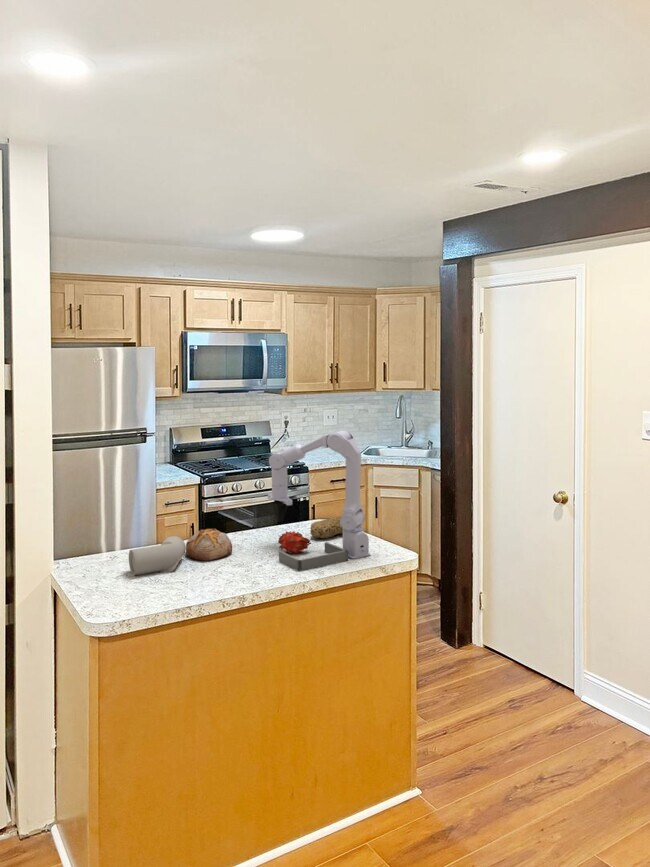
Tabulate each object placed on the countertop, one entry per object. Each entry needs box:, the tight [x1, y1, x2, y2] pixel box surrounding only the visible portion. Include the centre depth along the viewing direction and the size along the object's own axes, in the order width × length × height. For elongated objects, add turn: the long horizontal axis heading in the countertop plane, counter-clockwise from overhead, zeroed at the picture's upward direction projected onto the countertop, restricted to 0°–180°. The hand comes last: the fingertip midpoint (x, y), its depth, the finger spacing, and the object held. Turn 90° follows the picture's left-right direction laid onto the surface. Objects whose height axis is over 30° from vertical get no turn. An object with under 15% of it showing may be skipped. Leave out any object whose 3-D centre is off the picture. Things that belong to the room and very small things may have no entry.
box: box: [278, 541, 349, 572], centre depth 242 cm, size 13×20×4 cm, turn 124°
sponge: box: [310, 515, 343, 539], centre depth 274 cm, size 13×8×20 cm
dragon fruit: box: [277, 530, 312, 555], centre depth 251 cm, size 8×8×12 cm
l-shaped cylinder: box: [128, 535, 186, 576], centre depth 235 cm, size 18×11×20 cm
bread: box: [185, 528, 233, 562], centre depth 251 cm, size 16×20×10 cm
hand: (280, 520), depth 259 cm, fingers closed
